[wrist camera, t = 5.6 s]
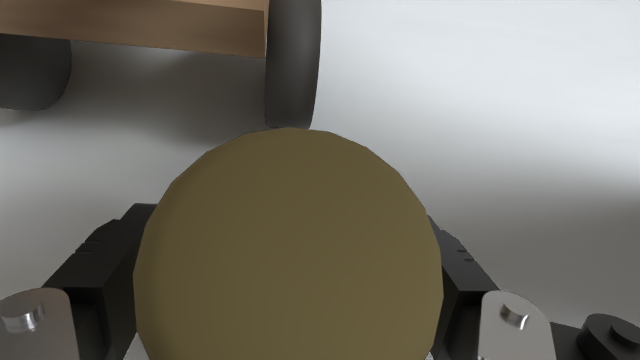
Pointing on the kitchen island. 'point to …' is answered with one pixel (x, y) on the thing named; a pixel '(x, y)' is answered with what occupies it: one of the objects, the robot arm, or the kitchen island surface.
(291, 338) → the cork
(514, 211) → the kitchen island surface
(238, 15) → the trolley
